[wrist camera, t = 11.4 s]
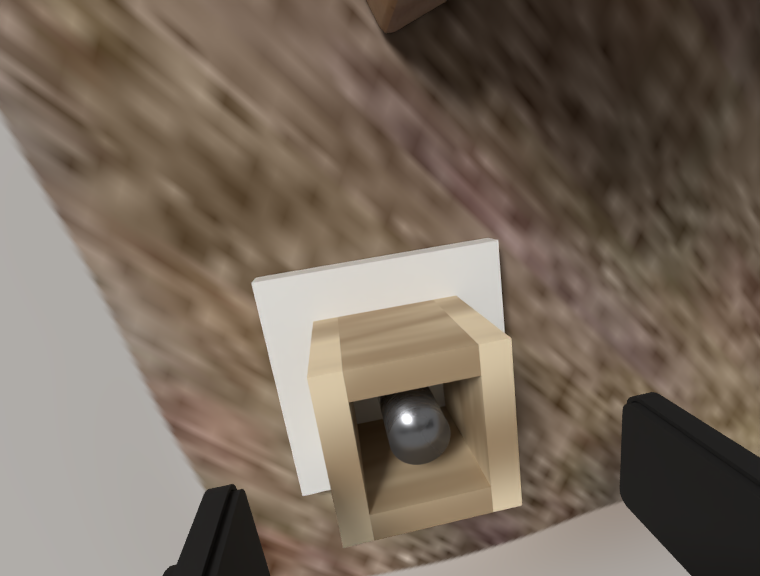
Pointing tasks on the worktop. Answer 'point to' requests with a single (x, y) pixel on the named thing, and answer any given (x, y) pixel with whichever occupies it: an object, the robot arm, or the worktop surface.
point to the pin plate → (357, 295)
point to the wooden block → (400, 12)
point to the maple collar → (462, 408)
